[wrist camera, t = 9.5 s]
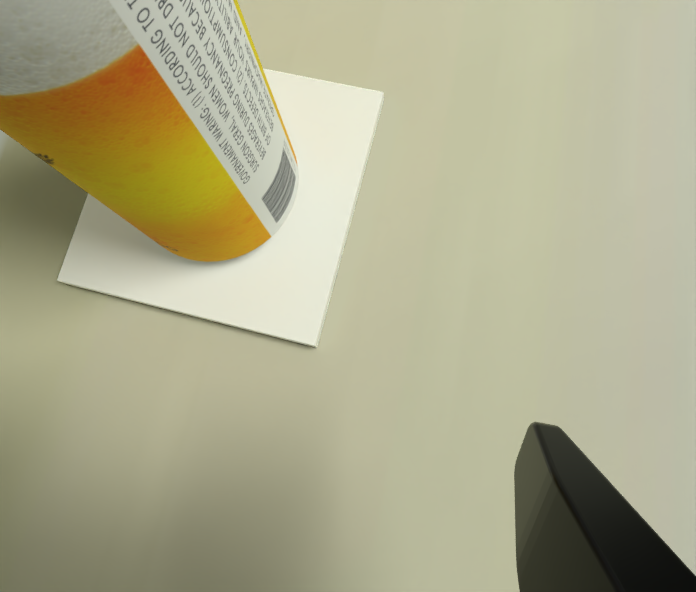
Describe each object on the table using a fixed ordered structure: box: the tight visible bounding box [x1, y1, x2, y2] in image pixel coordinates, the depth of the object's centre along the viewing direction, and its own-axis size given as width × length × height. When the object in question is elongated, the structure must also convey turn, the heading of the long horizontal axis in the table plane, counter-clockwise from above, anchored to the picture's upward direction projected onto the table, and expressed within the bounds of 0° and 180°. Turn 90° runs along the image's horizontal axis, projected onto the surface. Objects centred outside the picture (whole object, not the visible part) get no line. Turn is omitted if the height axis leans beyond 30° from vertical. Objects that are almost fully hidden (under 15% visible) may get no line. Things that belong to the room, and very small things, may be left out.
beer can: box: [0, 0, 299, 262], centre depth 14 cm, size 6×6×15 cm
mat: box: [57, 69, 384, 348], centre depth 22 cm, size 10×10×1 cm
